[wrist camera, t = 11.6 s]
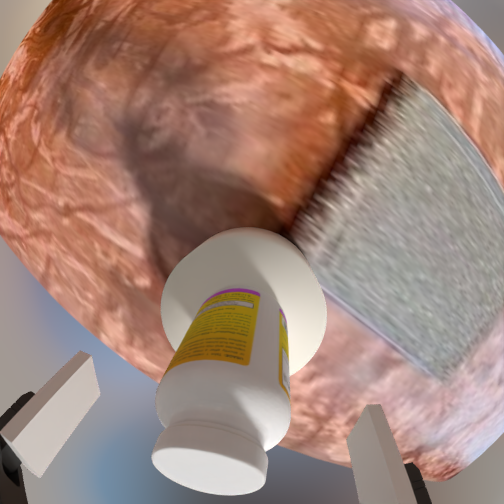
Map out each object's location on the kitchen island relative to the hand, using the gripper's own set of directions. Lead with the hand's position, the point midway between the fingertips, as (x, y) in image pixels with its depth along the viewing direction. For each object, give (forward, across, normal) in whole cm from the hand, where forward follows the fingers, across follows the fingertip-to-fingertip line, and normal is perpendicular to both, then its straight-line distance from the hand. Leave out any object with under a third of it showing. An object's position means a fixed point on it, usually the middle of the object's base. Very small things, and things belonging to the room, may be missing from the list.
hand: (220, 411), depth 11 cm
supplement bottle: (+10, 0, 0) cm, 10 cm away
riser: (+16, 0, -1) cm, 16 cm away
